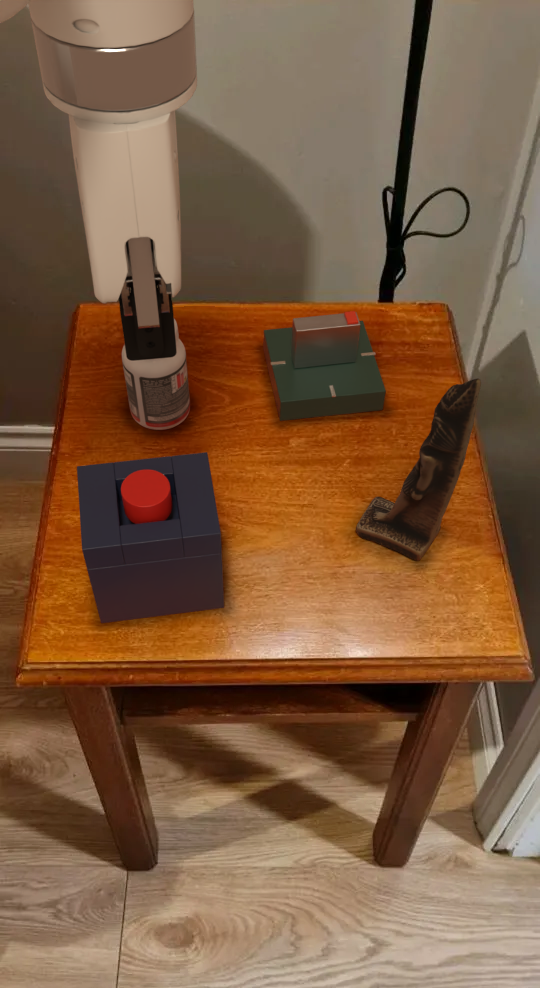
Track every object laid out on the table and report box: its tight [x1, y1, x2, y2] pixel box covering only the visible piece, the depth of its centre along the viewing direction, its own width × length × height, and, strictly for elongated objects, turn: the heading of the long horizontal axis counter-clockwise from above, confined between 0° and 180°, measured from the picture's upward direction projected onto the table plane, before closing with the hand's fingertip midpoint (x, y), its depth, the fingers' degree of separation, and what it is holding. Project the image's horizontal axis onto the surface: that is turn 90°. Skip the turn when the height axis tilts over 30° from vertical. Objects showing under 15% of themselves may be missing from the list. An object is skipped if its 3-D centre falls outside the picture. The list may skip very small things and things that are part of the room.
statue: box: [355, 378, 482, 562], centre depth 70 cm, size 4×7×20 cm, turn 62°
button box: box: [76, 451, 225, 624], centre depth 72 cm, size 10×8×10 cm
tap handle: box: [291, 310, 360, 368], centre depth 85 cm, size 6×2×5 cm, turn 100°
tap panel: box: [262, 320, 387, 422], centre depth 88 cm, size 10×10×3 cm
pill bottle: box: [121, 318, 191, 431], centre depth 82 cm, size 6×6×10 cm
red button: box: [121, 469, 172, 524], centre depth 67 cm, size 4×4×2 cm
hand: (151, 350), depth 59 cm, fingers closed
